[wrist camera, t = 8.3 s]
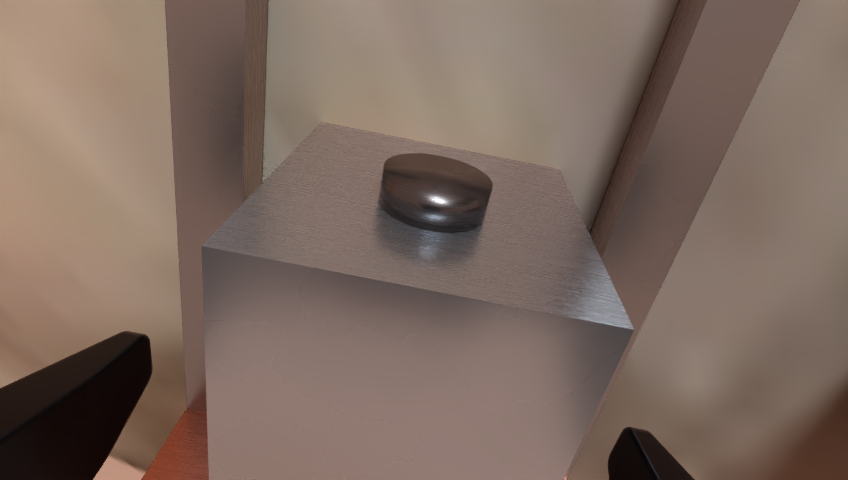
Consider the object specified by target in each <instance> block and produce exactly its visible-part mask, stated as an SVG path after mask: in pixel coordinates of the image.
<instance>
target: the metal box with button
mask: <svg viewBox="0 0 848 480" xmlns="http://www.w3.org/2000/svg"><path fill="white" fill-rule="evenodd" d="M201 247H202V278H203V309H204V340H205V372H206V403H207V434H208V465H209V480H563V479H564V477H565V475H566V473H567V470H568V468H569V466H570V464H571V462H572V460H573V458H574V456H575V454H576V452H577V449H578V447H579V445H580V443H581V441H582V439H583V437H584V435H585V433H586V431H587V428H588V426H589V424H590V422H591V420H592V418H593V416H594V414H595V412H596V410H597V407H598V405H599V403H600V401H601V399H602V397H603V395H604V393H605V391H606V389H607V386H608V384H609V382H610V380H611V378H612V376H613V374H614V372H615V370H616V368H617V365H618V363H619V361H620V359H621V357H622V355H623V353H624V351H625V349H626V347H627V344H628V342H629V340H630V338H631V336H632V334H633V332H634V328H633V326H632V324H631V321H630V319H629V317H628V315H627V313H626V311H625V309H624V307H623V304H622V302H621V300H620V298H619V296H618V294H617V292H616V290H615V287H614V285H613V283H612V281H611V279H610V277H609V275H608V272H607V270H606V268H605V266H604V264H603V262H602V260H601V258H600V255H599V253H598V251H597V249H596V247H595V245H594V243H593V241H592V238H591V236H590V234H589V232H588V230H587V228H586V226H585V223H584V221H583V219H582V217H581V215H580V213H579V211H578V209H577V206H576V204H575V202H574V200H573V198H572V196H571V194H570V192H569V189H568V187H567V185H566V183H565V181H564V179H563V177H562V174H561V172H560V170H559V169H555V168H550V167H545V166H540V165H535V164H530V163H525V162H520V161H515V160H510V159H505V158H500V157H495V156H490V155H485V154H480V153H475V152H470V151H465V150H460V149H455V148H450V147H445V146H440V145H435V144H430V143H425V142H420V141H415V140H410V139H405V138H400V137H395V136H390V135H385V134H380V133H375V132H370V131H365V130H360V129H354V128H349V127H344V126H339V125H334V124H329V123H324V122H321V123H320V124H319V125H318V126H317V127H316V128H315V129H314V130H313V131H312V133H311V134H310V135H309V136H308V137H307V138H306V139H305V140H304V141H303V142H302V143H301V144H300V145H299V146H298V147H297V148H296V149H295V150H294V151H293V152H292V153H291V154H290V155H289V156H288V157H287V158H286V159H285V160H284V161H283V162H282V163H281V165H280V166H279V167H278V168H277V169H276V170H275V171H274V172H273V173H272V174H271V175H270V176H269V177H268V178H267V179H266V180H265V181H264V182H263V183H262V184H261V185H260V186H259V187H258V188H257V189H256V190H255V191H254V192H253V193H252V194H251V195H250V196H249V198H248V199H247V200H246V201H245V202H244V203H243V204H242V205H241V206H240V207H239V208H238V209H237V210H236V211H235V212H234V213H233V214H232V215H231V216H230V217H229V218H228V219H227V220H226V221H225V222H224V223H223V224H222V225H221V226H220V227H219V228H218V229H217V231H216V232H215V233H214V234H213V235H212V236H211V237H210V238H209V239H208V240H207V241H206V242H205V243H204V244H203V245H202V246H201Z"/></svg>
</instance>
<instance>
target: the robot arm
mask: <svg viewBox="0 0 848 480" xmlns="http://www.w3.org/2000/svg"><path fill="white" fill-rule="evenodd" d="M151 374H152V358H151V347H150V340H149V338H148V336H147V335H145V334H140V333H135V332H130V331H124V332H121V333H118V334H116V335H114V336H112V337H110V338H108V339H106V340H103V341H101V342H99V343H97V344H95V345H93V346H90V347H88V348H86V349H84V350H82V351H80V352H77V353H75V354H73V355H71V356H69V357H67V358H65V359H62V360H60V361H58V362H56V363H54V364H52V365H49V366H47V367H45V368H43V369H41V370H39V371H37V372H34V373H32V374H30V375H28V376H26V377H24V378H21V379H19V380H17V381H15V382H13V383H11V384H9V385H6V386H4V387H2V388H0V480H93V478H94V477H95V475H96V474H97V473H98V471H99V470H100V468H101V467H102V465H103V463H104V462H105V460H106V459H107V457H108V456H109V454H110V452H111V450H112V449H113V447H114V445H115V443H116V442H117V440H118V438H119V436H120V434H121V432H122V430H123V429H124V427H125V425H126V423H127V421H128V419H129V417H130V416H131V414H132V412H133V410H134V408H135V406H136V404H137V403H138V401H139V399H140V397H141V395H142V393H143V391H144V390H145V388H146V386H147V384H148V382H149V380H150V377H151ZM608 473H609V480H694V479H693V478H692V476H691V475H690V474H689V473H688V472H687V471H686V470H685V469H684V468H683V467H682V466H681V465H680V464H679V463H678V462H677V460H676V459H675V458H674V457H673V456H672V455H671V454H670V453H669V452H668V451H667V450H666V449H665V448H664V447H663V446H662V444H661V443H660V442H659V441H658V440H657V439H656V438H655V437H654V436H653V435H652V434H651V433H650V432H649V431H646V430H643V429H638V428H632V427H626V428H625V429H623V431H622V432H621V434H620V436H619V438H618V440H617V442H616V444H615V446H614V448H613V450H612V451H611V453H610V456H609V460H608Z"/></svg>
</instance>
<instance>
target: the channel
mask: <svg viewBox="0 0 848 480" xmlns="http://www.w3.org/2000/svg"><path fill="white" fill-rule="evenodd" d="M799 1H800V0H680V1H679V4H678V6H677V9H676V12H675V14H674V17H673V19H672V22H671V25H670V27H669V30H668V32H667V35H666V38H665V40H664V43H663V46H662V48H661V51H660V53H659V56H658V59H657V61H656V64H655V66H654V69H653V72H652V74H651V77H650V79H649V82H648V85H647V87H646V90H645V92H644V95H643V98H642V100H641V103H640V105H639V108H638V111H637V113H636V116H635V119H634V121H633V124H632V126H631V129H630V132H629V134H628V137H627V139H626V142H625V145H624V147H623V150H622V152H621V155H620V158H619V160H618V163H617V165H616V168H615V171H614V173H613V176H612V178H611V181H610V184H609V186H608V189H607V192H606V194H605V197H604V199H603V202H602V205H601V207H600V210H599V212H598V215H597V218H596V220H595V223H594V225H593V228H592V231H591V233H590V236H591V238H592V241H593V243H594V245H595V247H596V249H597V251H598V253H599V255H600V258H601V260H602V262H603V264H604V266H605V268H606V270H607V272H608V275H609V277H610V279H611V281H612V283H613V285H614V287H615V290H616V292H617V294H618V296H619V298H620V300H621V302H622V304H623V307H624V309H625V311H626V313H627V315H628V317H629V319H630V321H631V324H632V326H633V328H634V332H633V334H632V336H631V338H630V340H629V342H628V344H627V347H626V349H625V351H624V353H623V355H622V357H621V359H620V361H619V363H618V365H617V368H616V370H615V372H614V374H613V376H612V378H611V380H610V382H609V384H608V386H607V389H606V391H605V393H604V395H603V397H602V399H601V401H600V403H599V405H598V407H597V410H596V412H595V414H594V416H593V418H592V420H591V422H590V424H589V426H588V428H587V431H586V433H585V435H584V437H583V439H582V441H581V443H580V445H579V447H578V449H577V452H576V454H575V456H574V458H573V460H572V462H571V464H570V466H569V468H568V470H567V473H566V475H565V477H564V479H563V480H567V479H568V477H569V475H570V473H571V471H572V469H573V467H574V465H575V463H576V460H577V458H578V456H579V454H580V452H581V450H582V448H583V446H584V444H585V442H586V440H587V438H588V436H589V434H590V432H591V430H592V428H593V425H594V423H595V421H596V419H597V417H598V415H599V413H600V411H601V409H602V407H603V405H604V403H605V401H606V399H607V397H608V395H609V393H610V390H611V388H612V386H613V384H614V382H615V380H616V378H617V376H618V374H619V372H620V370H621V368H622V366H623V364H624V362H625V360H626V358H627V355H628V353H629V351H630V349H631V347H632V345H633V343H634V341H635V339H636V337H637V335H638V333H639V331H640V329H641V327H642V325H643V323H644V320H645V318H646V316H647V314H648V312H649V310H650V308H651V306H652V304H653V302H654V300H655V298H656V296H657V294H658V292H659V290H660V288H661V285H662V283H663V281H664V279H665V277H666V275H667V273H668V271H669V269H670V267H671V265H672V263H673V261H674V259H675V257H676V255H677V253H678V250H679V248H680V246H681V244H682V242H683V240H684V238H685V236H686V234H687V232H688V230H689V228H690V226H691V224H692V222H693V220H694V218H695V215H696V213H697V211H698V209H699V207H700V205H701V203H702V201H703V199H704V197H705V195H706V193H707V191H708V189H709V187H710V185H711V183H712V180H713V178H714V176H715V174H716V172H717V170H718V168H719V166H720V164H721V162H722V160H723V158H724V156H725V154H726V152H727V150H728V148H729V145H730V143H731V141H732V139H733V137H734V135H735V133H736V131H737V129H738V127H739V125H740V123H741V121H742V119H743V117H744V115H745V113H746V110H747V108H748V106H749V104H750V102H751V100H752V98H753V96H754V94H755V92H756V90H757V88H758V86H759V84H760V82H761V80H762V78H763V75H764V73H765V71H766V69H767V67H768V65H769V63H770V61H771V59H772V57H773V55H774V53H775V51H776V49H777V47H778V45H779V43H780V40H781V38H782V36H783V34H784V32H785V30H786V28H787V26H788V24H789V22H790V20H791V18H792V16H793V14H794V12H795V10H796V7H797V5H798V3H799ZM165 12H166V30H167V49H168V67H169V86H170V104H171V123H172V141H173V160H174V178H175V197H176V215H177V234H178V252H179V271H180V289H181V308H182V326H183V345H184V364H185V382H186V401H187V409H186V411H185V412H184V414H183V415H182V417H181V419H180V420H179V422H178V423H177V425H176V426H175V428H174V430H173V431H172V433H171V434H170V436H169V437H168V439H167V440H166V442H165V444H164V445H163V447H162V448H161V450H160V451H159V453H158V454H157V456H156V458H155V459H154V461H153V462H152V464H151V465H150V467H149V468H148V470H147V472H146V473H145V475H144V476H143V478H142V479H141V480H209V465H208V434H207V403H206V372H205V340H204V309H203V278H202V247H201V246H202V245H203V244H204V243H205V242H206V241H207V240H208V239H209V238H210V237H211V236H212V235H213V234H214V233H215V232H216V231H217V229H218V228H219V227H220V226H221V225H222V224H223V223H224V222H225V221H226V220H227V219H228V218H229V217H230V216H231V215H232V214H233V213H234V212H235V211H236V210H237V209H238V208H239V207H240V206H241V205H242V204H243V203H244V202H245V201H246V200H247V199H248V198H249V196H250V195H251V194H252V193H253V192H254V191H255V190H256V189H257V188H258V187H259V186H260V185H261V184H262V165H263V135H264V105H265V76H266V46H267V16H268V0H165Z"/></svg>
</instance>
